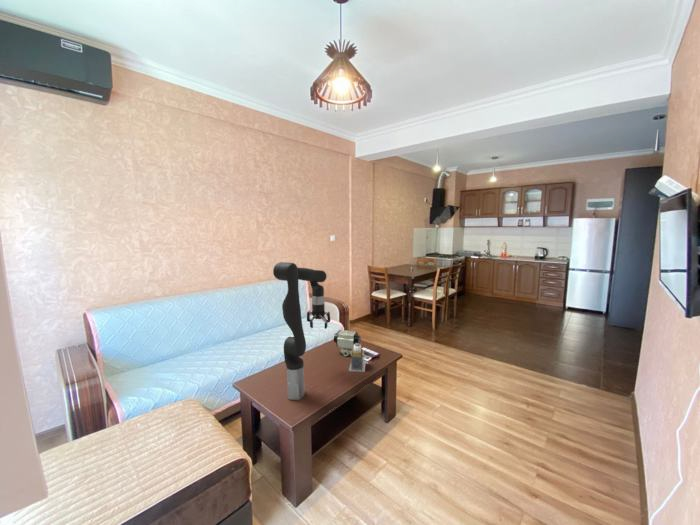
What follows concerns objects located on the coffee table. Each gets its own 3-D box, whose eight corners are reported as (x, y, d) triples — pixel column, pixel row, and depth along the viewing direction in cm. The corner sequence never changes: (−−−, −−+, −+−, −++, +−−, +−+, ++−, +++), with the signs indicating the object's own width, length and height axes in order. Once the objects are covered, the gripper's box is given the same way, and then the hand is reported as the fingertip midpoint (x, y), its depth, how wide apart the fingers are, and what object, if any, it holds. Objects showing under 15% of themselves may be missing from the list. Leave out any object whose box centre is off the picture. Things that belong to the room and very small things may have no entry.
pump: (360, 355, 190) (360, 345, 188) (353, 355, 190) (353, 345, 189) (361, 352, 194) (361, 342, 193) (354, 352, 195) (353, 342, 194)
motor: (364, 372, 187) (364, 354, 185) (348, 371, 188) (348, 353, 186) (365, 362, 199) (365, 345, 197) (351, 361, 200) (350, 345, 198)
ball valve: (333, 355, 210) (332, 331, 207) (337, 350, 218) (336, 327, 215) (357, 358, 205) (357, 334, 202) (360, 353, 213) (360, 329, 210)
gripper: (305, 304, 177) (305, 330, 179) (328, 304, 175) (329, 330, 177) (308, 300, 184) (309, 325, 186) (330, 301, 182) (331, 326, 185)
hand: (318, 328), depth 182 cm, fingers open, 8 cm apart
